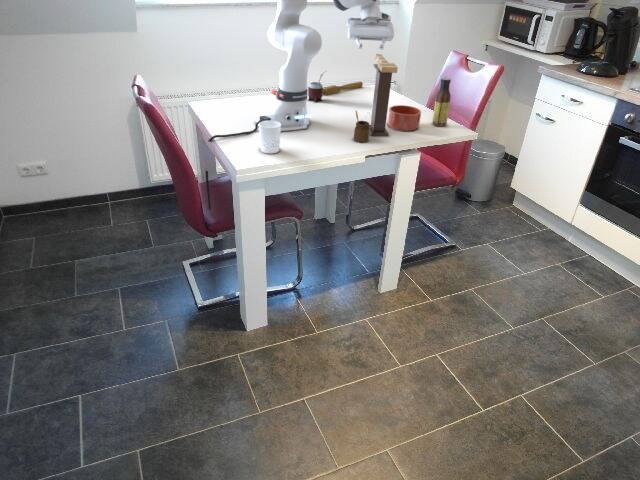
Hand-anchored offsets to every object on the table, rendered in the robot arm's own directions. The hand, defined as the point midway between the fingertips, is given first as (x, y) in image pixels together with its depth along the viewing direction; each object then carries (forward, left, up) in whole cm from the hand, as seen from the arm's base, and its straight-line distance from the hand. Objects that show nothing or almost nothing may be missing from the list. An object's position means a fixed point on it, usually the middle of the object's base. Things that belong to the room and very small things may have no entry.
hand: (370, 48), depth 212 cm
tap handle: (+8, +30, -27) cm, 41 cm away
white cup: (-64, -21, -27) cm, 72 cm away
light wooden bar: (-13, -23, -1) cm, 26 cm away
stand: (-14, -25, -27) cm, 40 cm away
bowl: (0, -25, -27) cm, 37 cm away
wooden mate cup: (-27, -29, -27) cm, 48 cm away
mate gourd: (-13, +22, -27) cm, 37 cm away
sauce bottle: (+16, -31, -27) cm, 45 cm away
